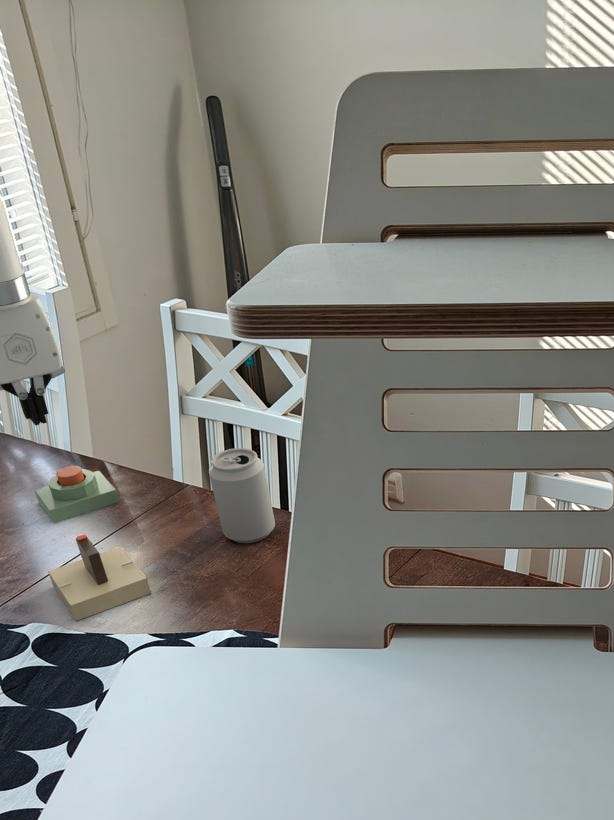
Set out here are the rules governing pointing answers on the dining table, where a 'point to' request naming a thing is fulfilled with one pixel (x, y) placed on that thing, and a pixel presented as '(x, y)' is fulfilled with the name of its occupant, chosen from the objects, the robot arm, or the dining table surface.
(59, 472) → the button
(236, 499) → the can
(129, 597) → the plate
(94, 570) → the thumbturn
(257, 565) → the dining table surface
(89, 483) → the button base
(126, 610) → the dining table surface
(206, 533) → the dining table surface
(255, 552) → the dining table surface
